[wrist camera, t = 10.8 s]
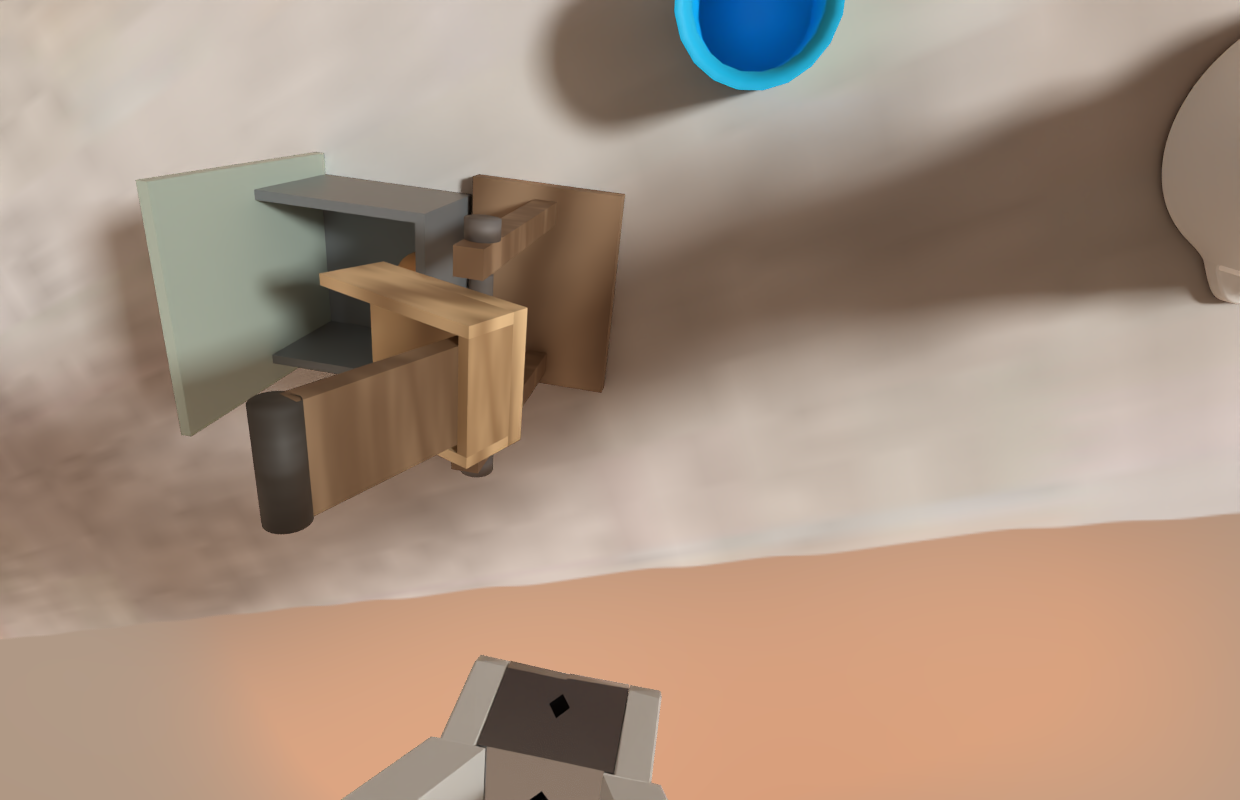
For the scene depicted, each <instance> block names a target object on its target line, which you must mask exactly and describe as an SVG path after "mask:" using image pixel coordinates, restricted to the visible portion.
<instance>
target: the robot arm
mask: <svg viewBox="0 0 1240 800" xmlns="http://www.w3.org/2000/svg"><path fill="white" fill-rule="evenodd" d="M1162 188H1163V194H1164V199H1165V203H1166V206H1167V209H1168V212H1169V214H1170V216H1171V218H1172V220H1173V222H1174V224H1175V225H1176V227H1177V228H1178V230H1179V231H1180V232H1181V234H1182V235H1183V236H1184V237H1185V238H1186V239H1187V240H1188V241H1189V242H1190V243H1191V244H1192V245H1193V246H1194V247H1195V249H1196V250H1197V251H1198V252H1199V254H1200V255H1201V257H1202V258H1203V260H1204V265H1205V270H1206V275H1207V280H1208V283H1209V286H1210V289H1211V291H1212V293H1213V294H1214V296H1215V297H1217V298H1218V299H1220V300H1222V301H1226V302H1230V303H1234V304H1240V39H1239V40H1238V41H1237V42H1235V43H1234V44H1233V45H1232V46H1231V47H1229V48H1228V49H1227V50H1226V51H1225V52H1224V53H1223V54H1222V55H1221V56H1220V57H1219V58H1218V59H1217V60H1216V61H1215V62H1214V63H1213V64H1212V65H1211V66H1210V67H1209V68H1208V69H1207V71H1206V72H1205V73H1204V74H1203V75H1202V76H1201V78H1200V79H1199V80H1198V82H1197V83H1196V84H1195V86H1194V87H1193V88H1192V90H1191V91H1190V93H1189V94H1188V96H1187V98H1186V99H1185V101H1184V102H1183V104H1182V106H1181V108H1180V110H1179V112H1178V114H1177V116H1176V118H1175V120H1174V122H1173V125H1172V127H1171V130H1170V133H1169V136H1168V139H1167V142H1166V146H1165V151H1164V156H1163V162H1162ZM628 691H629V693H628ZM627 697H628V699H627ZM626 704H627V705H626ZM660 704H661V692H660V691H658V690H653V689H647V688H642V687H637V686H632V685H631V686H630V688H629V685H628V684H623V683H617V682H612V681H607V680H601V679H595V678H591V677H585V676H580V675H575V674H566V673H561V672H557V671H552V670H548V669H543V668H539V667H535V666H530V665H526V664H522V663H517V662H513V661H506V660H502V659H497V658H492V657H488V656H484V655H480V657H479V658H478V659H477V660H476V661H475V663H474V665H473V667H472V669H471V672H470V674H469V676H468V678H467V680H466V683H465V685H464V687H463V689H462V692H461V694H460V696H459V698H458V700H457V703H456V705H455V707H454V709H453V711H452V713H451V716H450V718H449V720H448V722H447V724H446V727H445V729H444V732H443V733H442V735H441V738H437V737H430V738H428V739H427V740H426V741H424V742H423V743H422V744H420V745H418V746H417V747H416V748H414V749H413V750H411V751H410V752H408V753H407V754H406V755H404V756H403V757H401V758H400V759H399V760H397V761H396V762H394V763H393V764H391V765H390V766H388V767H387V768H386V769H384V770H383V771H381V772H380V773H379V774H377V775H376V776H374V777H373V778H371V779H370V780H368V781H367V782H366V783H364V784H363V785H361V786H360V787H358V788H357V789H356V790H354V791H353V792H351V793H350V794H348V795H347V796H346V797H344V798H343V799H341V800H668V799H667V797H666V795H665V793H664V791H663V789H662V787H661V785H658V784H654V783H651V780H652V771H653V763H654V754H655V746H656V738H657V729H658V721H659V713H660Z"/></svg>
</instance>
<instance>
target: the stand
mask: <svg viewBox="0 0 1240 800" xmlns="http://www.w3.org/2000/svg"><path fill="white" fill-rule="evenodd" d="M624 198H625V194H619V193H612V192H605V191H597V190H590V189H583V188H575V187H568V186H561V185H553V184H546V183H539V182H531V181H524V180H517V179H510V178H502V177H495V176H488V175H480V174H479V175H476V176H473V213H472V215H466V216H464V239H463V240H461V241H459V242H458V243H456V244H454V245H453V276H454V277H461V278H467V279H474V280H480V281H484V280H485V279H486V278H488V277H489V276H490V275H491V274H493V275H494V280H493V297H496V298H499V299H502V300H505V301H508V302H511V303H515V304H518V305H521V306H524V307H527V308H528V309H527V328H526V346H525V364H524V382H523V401H522V407H523V405H524V404H525V402H526V401H527V399H528V398H529V396H530V395H531V393H532V392H533V390H534V389H535V387H536V386H537V384H538V383H545V384H551V385H557V386H563V387H569V388H575V389H582V390H588V391H594V392H600V393H601V392H602V390H603V388H604V382H605V373H606V364H607V355H608V346H609V336H610V327H611V318H612V309H613V300H614V290H615V281H616V272H617V263H618V254H619V244H620V235H621V226H622V217H623V208H624ZM451 469H455V470H460V471H461V472H462V473H463V474H465V475H467V476H470V477H483V476H486V475H488V474H490V473H491V472H492V470H493V455H491V456H489V457H487V458H486V459H484V460H482V461H480V462H478V463H476V464H475V465H473V466H471V467H469V468H467V469H465V468H463V467H461V466H459V465H457V464H455V463H453V462H451Z"/></svg>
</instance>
